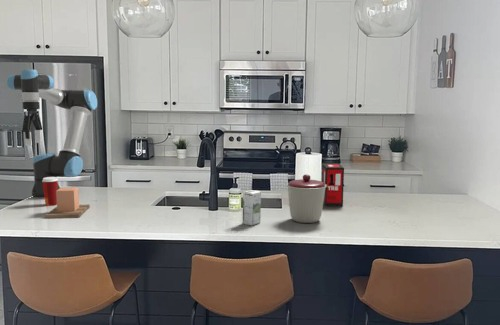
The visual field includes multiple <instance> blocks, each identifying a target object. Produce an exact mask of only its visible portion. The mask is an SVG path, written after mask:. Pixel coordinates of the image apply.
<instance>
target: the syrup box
mask: <svg viewBox="0 0 500 325" xmlns="http://www.w3.org/2000/svg"><path fill="white" fill-rule="evenodd" d="M261 203H262V192H261V191H260V190H255V189H254V190H253V189H250V190H246V191H243V192H242V224H243V225H248V226H251V227H252V226H256V225H259V224H261V207H262V206H261Z"/></svg>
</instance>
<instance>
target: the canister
mask: <svg viewBox="0 0 500 325" xmlns="http://www.w3.org/2000/svg"><path fill="white" fill-rule="evenodd" d="M285 186H286V187H287V196H288V206H289V214H290V217H291V219H292V220H293V221H294V222H297V223H300V224H301V223H303V224H314V223H316V222H318V221H320V219H321V217H322V214H323V208H324V203H323V201H324V194H325V188H326V187H327V185H326V184H324V183H323V182H322V180H316V179H311V176H310V174H303V176H302V178H301V179H293V180H291V181H289V182H287V183H286V185H285Z"/></svg>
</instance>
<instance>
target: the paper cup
mask: <svg viewBox="0 0 500 325" xmlns="http://www.w3.org/2000/svg"><path fill="white" fill-rule="evenodd" d="M42 181H43V188H44V196H45V197H44V202H45V206H47V207H52V206H53V207H54V206H57V197H56V191H57V190H58V185H59V182H58V181H59V179H58V177H46V178H43V180H42Z"/></svg>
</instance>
